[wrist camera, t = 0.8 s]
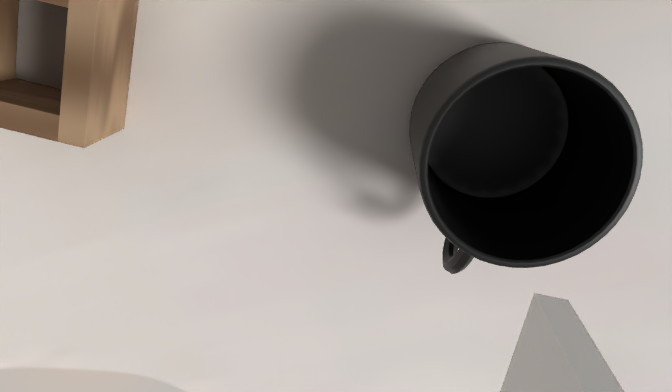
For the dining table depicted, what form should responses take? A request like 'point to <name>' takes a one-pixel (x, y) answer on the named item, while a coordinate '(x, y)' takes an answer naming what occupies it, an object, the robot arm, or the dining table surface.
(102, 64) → the link
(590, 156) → the mug
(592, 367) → the robot arm
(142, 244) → the dining table surface
